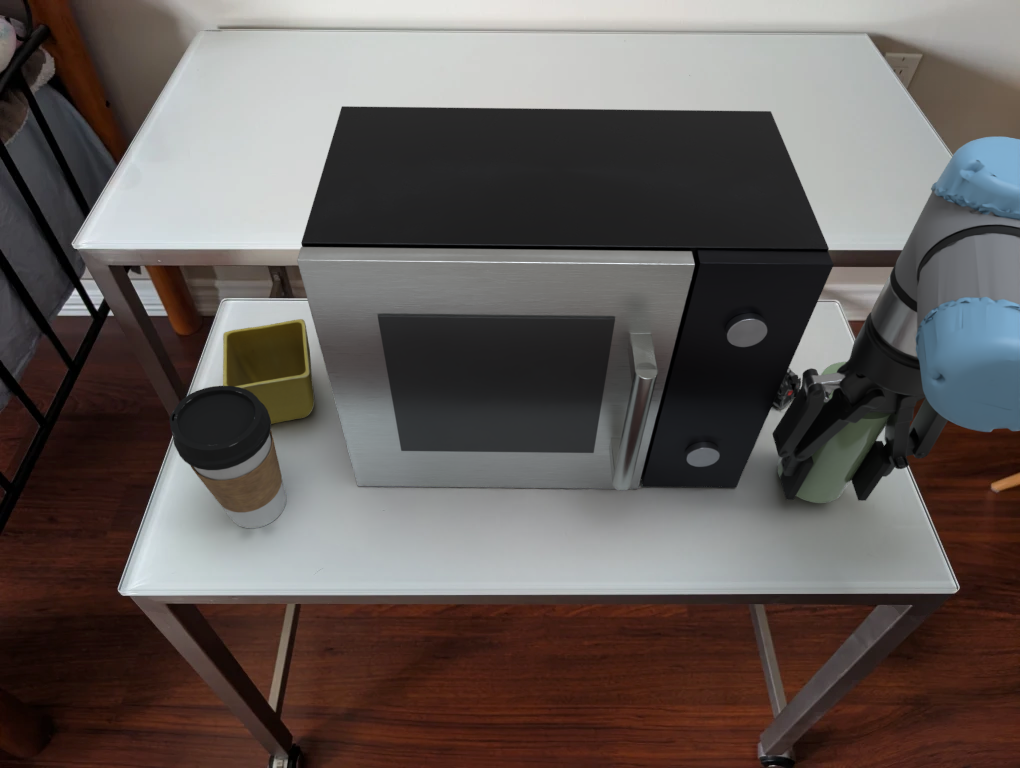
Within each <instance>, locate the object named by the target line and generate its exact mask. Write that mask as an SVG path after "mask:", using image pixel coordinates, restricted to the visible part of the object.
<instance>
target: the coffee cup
mask: <svg viewBox="0 0 1020 768" xmlns="http://www.w3.org/2000/svg"><path fill="white" fill-rule="evenodd" d="M169 427H170V431H171V434H172V437H173V438H172V439H173V444H174V447H175V450H176V451H177V454H178V455H179V457H180V458H181V459H182V460H183V461H184V462H185V463H186V464H188V465H189V466H190V468H191V469H192V471H193V472H194V474H195V475H196V476H197V477H198V478H199V480H200V481H201V482H202V483H203V485H204V486H205V487H206V488H207V490H208V491H209V493H210V494H212V496H213V498H214V499H215V500H216V501H217V503H218V504H219V505H220V507H222V509H223V510H224V512H225V513H226V514H227V516H228V517H229V518H230V520H232V521H233V524H236V525H237V526H238V527H242V528H246V529H258V528H262V527H265V526H267V525H269V524H271V523H273V522H274V521H275V520H277V519H278V518H279V517H280V516H281V514H282V513H283V511H284V509H285V508H286V504H287V493H286V489H285V485H284V482H283V478H282V477H283V476H282V475H283V474H282V471H281V466H280V463H279V458H278V453H277V449H276V445H275V440H274V435H273V431H272V424H271V419H270V416H269V413H268V410H267V409H266V407H265V405H264V404H263V403H262V402H260V401H259V399H258V398H257V397H256V396H255V395H254V394H253V393H252V392H250V391H248V390H246V389H243V388H240V387H235V386H223V385H215V386H214V385H213V386H209V387H203V388H201V389H198V390H196V391H193V392H191V393H189V394H188V395H187V396H185V397H183V398H182V400H180V401H179V402H178V404H177V405H176V406H175V407H174V409H173V410H172V412H171V414H170V415H169Z"/></svg>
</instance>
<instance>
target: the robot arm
mask: <svg viewBox="0 0 1020 768" xmlns="http://www.w3.org/2000/svg"><path fill="white" fill-rule="evenodd" d="M930 190H931V193H930V195H929V197H928V198H927V200H926V203H925V204H924V206H923V208H922V211H921V213H919V216H918V218H917V220H916V222H915V224H914V225H913V228H912V230H911V232H910V234H909V236H908V238H907V240H906V242H905V244H904V246H903V248H902V249H901V251H900V254H899V256H898V257H897V260H896V261H895V263H894V266H893V267H892V269H891V272H890V273H889V275H888V278H887V279H886V281H885V283H884V285H883V287H882V289H881V291H880V293H879V295H878V297H877V298H876V300H875V303H874V304H873V306H872V308H871V311H870V312H869V313H868V315H867V317H866V318H865V320H864V322H863V324H862V326H861V328H860V330H859V332H858V334H857V335H856V337H855V340H854V341H853V345H852V348H851V352H850V357H849V358H848V360H847V361H845V362H846V363H845V364H844V365H842V366H841V367H840V368H839V369H838V370H837V373H832V374H826V375H821V374H819V373H818V370H817V369H816V368H808V369H805V370H804V371H803V373H802V378H801V386H800V390H799V392H798V393H797V395H796V396H795V398H793V399H792V400H791V402H790V404H789V406H788V408H787V409H786V411H785V412H784V414H783V415H782V417H781V419H780V420H779V422H778V423H777V425H776V427H775V429H774V430H773V432H772V437H773V442H774V445H775V448H776V452H777V455H778V457H779V458H781V457H783V458H782V460H781V464H782V468H783V472H782V474H781V476H780V477H779V479H781V480H780V483H781V486H782V490H783V494H784V499H785V500H786V501H793V500H795V498H796V497H797V496H796V494H797V493H798V491H799V489H800V487H801V485H802V484H803V482H804V480H805V478H806V477H807V475H808V473H809V471H810V469H811V468H812V466H813V464H814V462H813V459H812V456H811V455H813V454H814V453H815V452H816V451H817V450H818V449H820V448H821V447H822V446H823V445H824V444H825V443H827V442H828V441H829V440H830V439H831V438H832V437H834V436H835V435H836V434H837V433H838V432H839V431H841V430H842V429H843V428H844V427H845V426H846V425H848V424H849V423H857V422H858V421H859V420H860V419H862V418H863V417H864V416H865V415H866V414H867V413H872V412H882V413H891V417H890V419H889V421H888V423H887V424H886V426H885V427H884V442H885V444H884V442H883V440H876V442H875V443H874V445H873V446H872V448H871V449H870V451H869V453H868V454H867V456H866V457H865V459H864V460H863V462H862V464H861V465H860V467H859V468H858V470H857V471H856V473H855V475H854V476H853V478H852V479H851V481H850V482H851V483H852V486H853V489H854V492H855V495H856V498H857V501H859V502H860V501H862V502H863V501H867V500H868V498H869V497H870V495H871V494H872V492H873V491H874V489H875V488H876V486H877V485H878V484H879V483H880V481H881V480H882V478H884V477H885V478H887V477H888V476H889V475H891V473H892V472H893V470H894V469H895V468H896V469H897V470H902V469H906V468H907V467H909V466H910V463H909V461H908V458H907V457H909V456H913V457H914V458H915V459H924V458H927V456H928V455H929V454H930V452H931V450H932V449H933V447H934V446H935V444H936V442H937V441H938V439H939V437H940V435H941V434H942V431H943V430H944V428H945V426H946V425H947V423H948V421H949V422H950V423H953V424H954V425H957V426H960V427H962V428H965V429H968V430H971V431H972V430H973V431H977V432H982V433H991V432H993V430H997V429H998V430H999V429H1000V430H1001V429H1008V430H1009V431H1011V432H1020V138H1014V137H1009V136H985V137H980V138H977V139H972V140H971V141H968V142H966V143H964V144H963V145H962V146H960V147H959V148H957V150H955V152H954V153H953V155H952V156H951V158H950V160H949V161H948V163H946V166H945V168H944V169H943V171H942V173H940V176H939V177H938V178H937V180H936V181H935V182H934V183H933V184H932V185H931V187H930ZM833 390H834V391H833ZM832 391H833V394H832V398H831V399H830V398H829V395H830V394H831V393H832ZM921 400H923V401H922V403H921V405H920V407H919V408H918V411H917V413H916V414H915V416H914V412H915V407H916V405H917V402H919V401H921ZM824 402H827V403H826V404H825V405H824V406H823V403H824Z"/></svg>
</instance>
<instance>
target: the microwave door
mask: <svg viewBox="0 0 1020 768" xmlns="http://www.w3.org/2000/svg"><path fill="white" fill-rule="evenodd" d="M296 263H297V266H298V270H299V274H300V277H301V281H302V285H303V289H304V292H305V295H306V299H307V304H308V307H309V311H310V315H311V318H312V321H313V326H314V330H315V332H316V336H317V340H318V343H319V347H320V348H319V349H320V351H321V356H322V358H323V362H324V367H325V370H326V374H327V378H328V381H329V385H330V388H331V392H332V395H333V399H334V403H335V408H336V411H337V414H338V415H337V416H338V418H339V421H340V425H341V429H342V433H343V437H344V441H345V445H346V448H347V453H348V455H349V460H350V462H351V467H352V471H353V473H354V478H355V481H356V485H357V487H406V488H407V487H411V488H412V487H413V488H414V487H415V488H416V487H417V488H418V487H419V488H500V489H501V488H502V489H503V488H505V489H507V488H509V489H511V488H512V489H513V488H514V489H515V488H516V489H521V488H522V489H596V490H597V489H601V490H602V489H606V490H618V491H621V492H622V491H627V490H638V489H639V487H640V484H641V475H642V471H643V467H644V463H645V459H646V455H647V451H648V448H649V444H650V440H651V436H652V432H653V428H654V424H655V420H656V416H657V412H658V408H659V404H660V400H661V397H662V393H663V389H664V385H665V381H666V377H667V373H668V369H669V365H670V361H671V357H672V353H673V349H674V345H675V342H676V338H677V334H678V330H679V326H680V322H681V318H682V314H683V310H684V306H685V302H686V298H687V294H688V291H689V287H690V283H691V279H692V275H693V271H694V267H695V262H694V258H693V254H692V251H622V250H532V249H441V248H351V247H302V246H301V247H300V249H299V253H298V255H297V258H296Z"/></svg>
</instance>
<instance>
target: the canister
mask: <svg viewBox="0 0 1020 768" xmlns="http://www.w3.org/2000/svg"><path fill="white" fill-rule="evenodd" d="M846 362H847V361H841V362H839V361H838V362H836V363H833V364H831V365H829V366H827V367H826V368H825V369H824V370H822V372H821V374H820V375H826V374H832V373H837V370H838V369H839V368H840V367H841V366H842V365H844V364H845V363H846ZM833 391H834V390H833ZM833 391H832V393H831V394H830V395H829V398H830V399H831V398H832V394H833ZM826 403H827V402H824V403H823V406H824V405H825V404H826ZM890 417H891V413H882V412H872V413H867V414H866V415H865V416H864V417H863V418H862V419H860V420H859V421H858V422H857V423H849V424H848V425H846V426H845V427H844V428H843V429H842V430H841V431H839V432H838V433H837V434H836V435H835V436H834V437H832V438H831V439H830V440H829V441H828V442H827V443H825V444H824V445H823V446H822V447H821V448H820V449H818V450H817V451H816V452H815V453H814V454H813V455H811V456H812V459H813V462H814V464H813V466H812V468H811V469H810V471H809V473H808V475H807V477H806V478H805V480H804V482H803V484H802V485H801V487H800V489H799V491H798V493H797V494H796V496H795V497H797V498H799V499H801V500H803V501H806V502H809V503H813V504H825V503H830V502H833V501H835V500H837V499H839V498H840V497H841V496H842V495H843V494H844V492H845V490H846V489H847V487H848V485H850V483H851V482H852V481H851V479H852V478H853V476H854V475H855V473H856V471H857V470H858V468H859V467H860V465H861V464H862V462H863V460H864V459H865V457H866V456H867V454H868V453H869V451H870V449H871V448H872V446H873V445H874V443H875V442H876V441H878V438H879V437H880V436H881V434H882V432H883V431H884V430H885V426H886V424H887V423H888V421H889V419H890ZM782 458H783V457H779V460H778V463H777V473H778V477H779V479H780V476H781V474H782V472H783V468H782V464H781V460H782ZM780 481H781V479H780Z"/></svg>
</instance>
